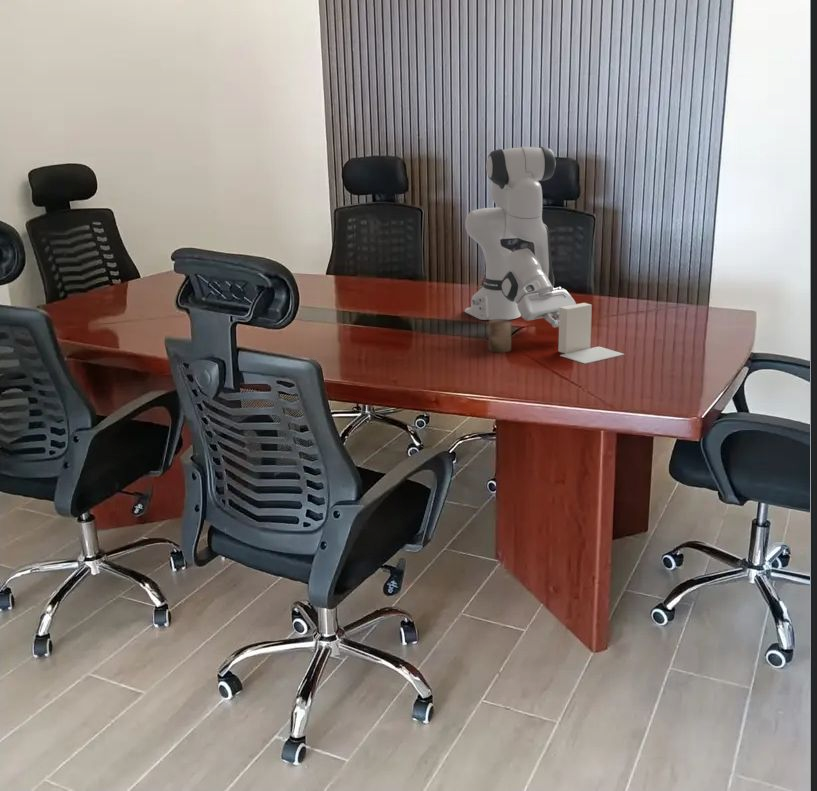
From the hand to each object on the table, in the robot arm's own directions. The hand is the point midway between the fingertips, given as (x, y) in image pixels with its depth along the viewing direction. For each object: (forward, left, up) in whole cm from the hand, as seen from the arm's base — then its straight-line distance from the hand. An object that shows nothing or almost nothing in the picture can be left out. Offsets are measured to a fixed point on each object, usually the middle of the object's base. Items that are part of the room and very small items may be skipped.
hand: (558, 326), depth 279 cm
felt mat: (+16, 0, -6) cm, 17 cm away
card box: (+8, 0, -6) cm, 10 cm away
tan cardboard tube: (-7, -18, -6) cm, 20 cm away
